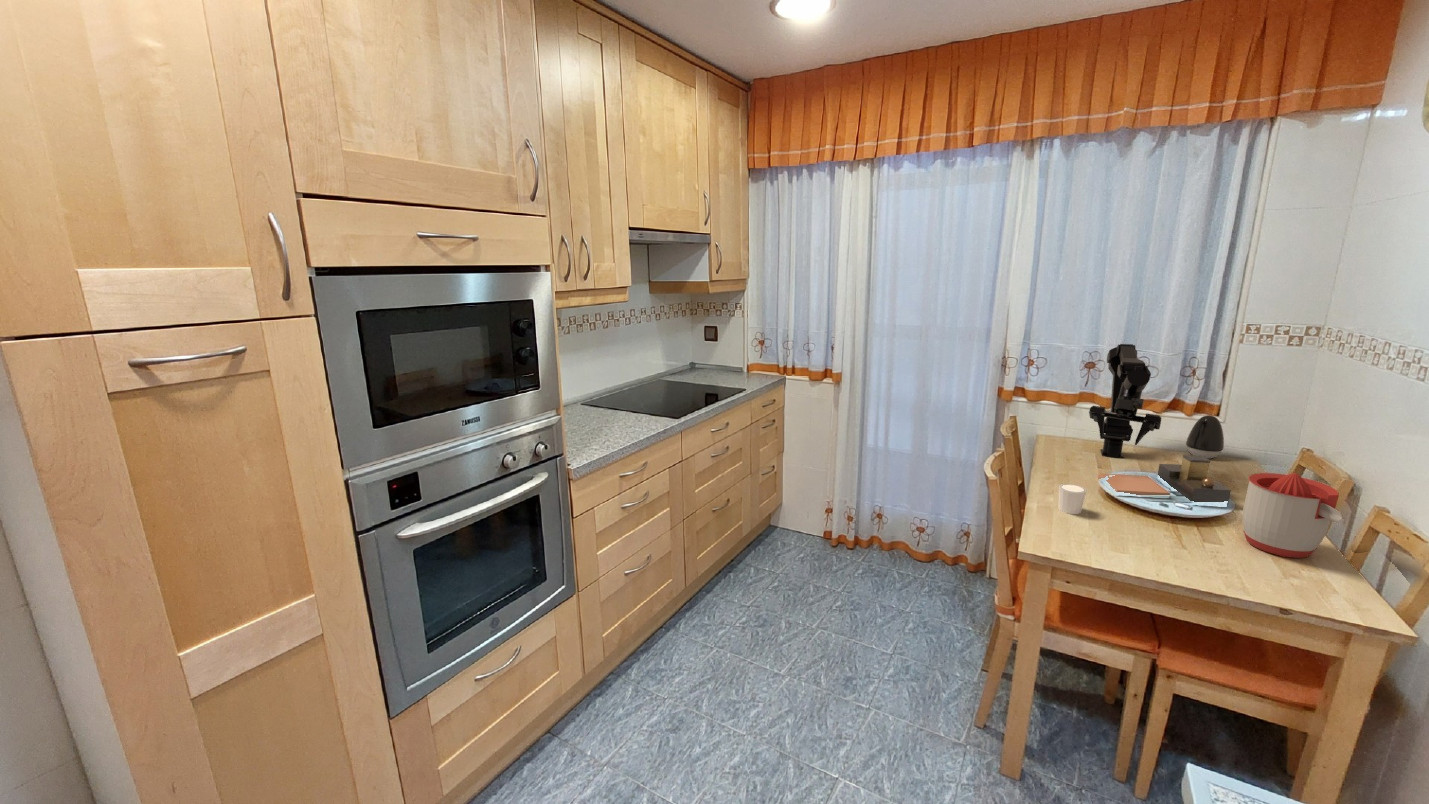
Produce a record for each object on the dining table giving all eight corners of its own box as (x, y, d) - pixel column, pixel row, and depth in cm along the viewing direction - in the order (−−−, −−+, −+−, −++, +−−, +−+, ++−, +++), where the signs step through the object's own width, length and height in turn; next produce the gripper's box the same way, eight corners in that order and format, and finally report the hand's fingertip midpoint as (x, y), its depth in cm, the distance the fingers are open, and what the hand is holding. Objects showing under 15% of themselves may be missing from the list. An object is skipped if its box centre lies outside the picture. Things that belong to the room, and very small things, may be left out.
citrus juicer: (1302, 572, 131) (1322, 492, 126) (1219, 537, 147) (1235, 466, 142) (1348, 560, 135) (1369, 483, 130) (1262, 528, 151) (1279, 458, 146)
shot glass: (1075, 505, 169) (1078, 483, 167) (1088, 515, 162) (1091, 492, 160) (1051, 505, 169) (1054, 483, 167) (1063, 515, 163) (1066, 492, 161)
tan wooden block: (1178, 479, 176) (1183, 454, 174) (1197, 480, 174) (1202, 455, 172) (1186, 484, 171) (1191, 459, 169) (1205, 485, 170) (1210, 460, 168)
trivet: (1097, 478, 186) (1098, 473, 186) (1146, 481, 183) (1147, 475, 183) (1116, 496, 173) (1117, 490, 173) (1169, 499, 170) (1170, 493, 170)
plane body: (1156, 479, 184) (1160, 456, 182) (1188, 481, 182) (1193, 457, 180) (1191, 505, 165) (1195, 480, 163) (1227, 507, 163) (1232, 482, 161)
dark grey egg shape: (1177, 454, 205) (1185, 414, 201) (1193, 449, 209) (1201, 410, 205) (1211, 463, 196) (1219, 421, 192) (1227, 457, 200) (1235, 416, 196)
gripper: (1094, 382, 183) (1082, 426, 180) (1166, 392, 171) (1155, 439, 168) (1096, 396, 192) (1084, 438, 189) (1165, 406, 180) (1154, 451, 176)
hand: (1118, 441), depth 180 cm, fingers open, 9 cm apart
